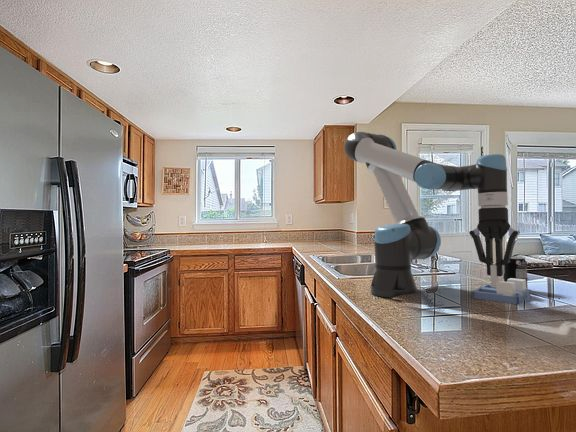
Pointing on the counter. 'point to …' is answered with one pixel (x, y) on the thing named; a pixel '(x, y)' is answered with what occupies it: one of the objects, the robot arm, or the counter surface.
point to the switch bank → (499, 295)
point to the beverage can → (515, 269)
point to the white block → (506, 288)
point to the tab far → (518, 284)
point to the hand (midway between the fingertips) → (495, 286)
